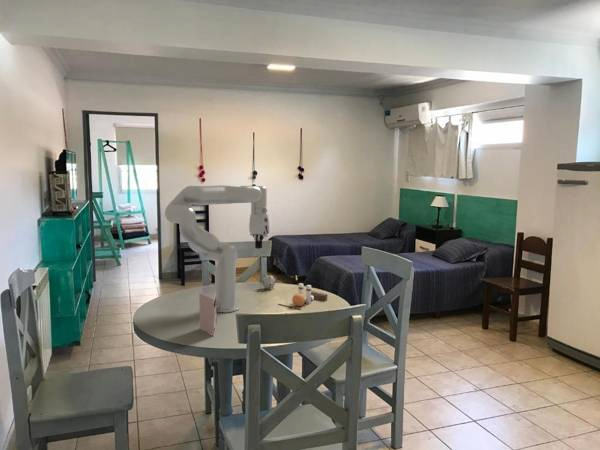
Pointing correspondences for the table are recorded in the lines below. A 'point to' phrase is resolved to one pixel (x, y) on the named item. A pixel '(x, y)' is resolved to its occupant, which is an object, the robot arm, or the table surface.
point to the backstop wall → (319, 296)
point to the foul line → (289, 306)
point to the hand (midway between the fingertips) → (258, 248)
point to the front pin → (311, 298)
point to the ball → (298, 300)
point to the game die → (268, 282)
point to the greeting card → (208, 314)
